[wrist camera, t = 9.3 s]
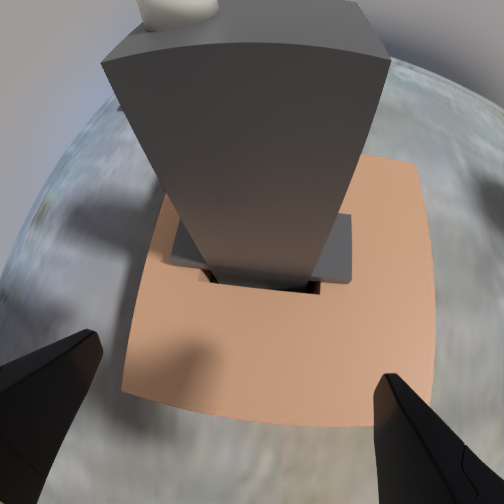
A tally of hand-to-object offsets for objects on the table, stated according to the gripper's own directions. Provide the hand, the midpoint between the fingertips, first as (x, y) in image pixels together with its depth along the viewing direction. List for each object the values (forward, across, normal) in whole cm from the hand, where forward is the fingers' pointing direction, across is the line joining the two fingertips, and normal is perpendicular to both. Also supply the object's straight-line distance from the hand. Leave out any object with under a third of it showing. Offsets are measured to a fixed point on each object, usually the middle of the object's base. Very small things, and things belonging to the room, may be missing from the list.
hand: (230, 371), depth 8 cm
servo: (+12, 0, +2) cm, 12 cm away
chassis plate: (+11, -2, +3) cm, 12 cm away
